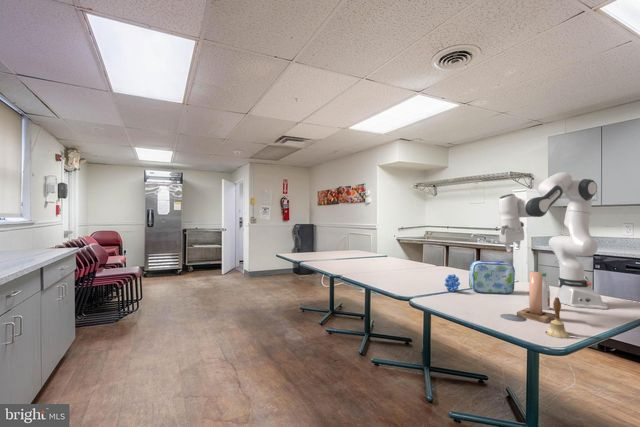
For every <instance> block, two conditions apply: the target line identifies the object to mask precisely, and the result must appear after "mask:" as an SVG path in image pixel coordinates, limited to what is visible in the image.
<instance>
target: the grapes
mask: <svg viewBox="0 0 640 427" xmlns="http://www.w3.org/2000/svg"><path fill="white" fill-rule="evenodd" d="M444 282H445V283H444V286H445V287H446V290H447V291H448V292H449V291H450V292H451V293H454V292H455V291H458V290H459V286H460V285H461V282H460V278H459V277H458V276H456V274H455V273H453V274H448V275H447V277H446V278H445V279H444Z"/></svg>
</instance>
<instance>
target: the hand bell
mask: <svg viewBox="0 0 640 427" xmlns="http://www.w3.org/2000/svg"><path fill="white" fill-rule="evenodd" d="M553 300H554V301H553V303H552V304H553V309H554V314H555V319H553V320H551V321H550V326H549V327H548V329H547V330H546V331H545V332H544V333H545V334H546V335H548V336H550V337H553V338H556V337H557V338H558V339H563V338H567V339H569V338H570V334H568V332H567V331H566V328H565V324H564V322H563V321H561V316H560V312H561V309H562V303H560V300H559V298H557V297H555V298H554V299H553Z"/></svg>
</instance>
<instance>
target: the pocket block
mask: <svg viewBox="0 0 640 427" xmlns="http://www.w3.org/2000/svg"><path fill="white" fill-rule="evenodd" d="M516 315H517V316H519V317H523V318H526V319H527V320H530V321H535V322H539V323H543V324H547V323H549V322H551V321H553V320H555V313H552V312H548V311H545V310H542V316H538V315H534V314H529V307H526V308H523V309H521V310H519V311H517V312H516Z"/></svg>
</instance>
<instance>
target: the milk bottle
mask: <svg viewBox="0 0 640 427" xmlns="http://www.w3.org/2000/svg"><path fill="white" fill-rule="evenodd" d="M540 272H541V271H540ZM541 273H542V311H547V310H548V311H549V310H551V309H550V308H551V302H550V301H551V298H550V296H551V293H550V292H551V290H550V286H549V283H548V282H547V272H541Z"/></svg>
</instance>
